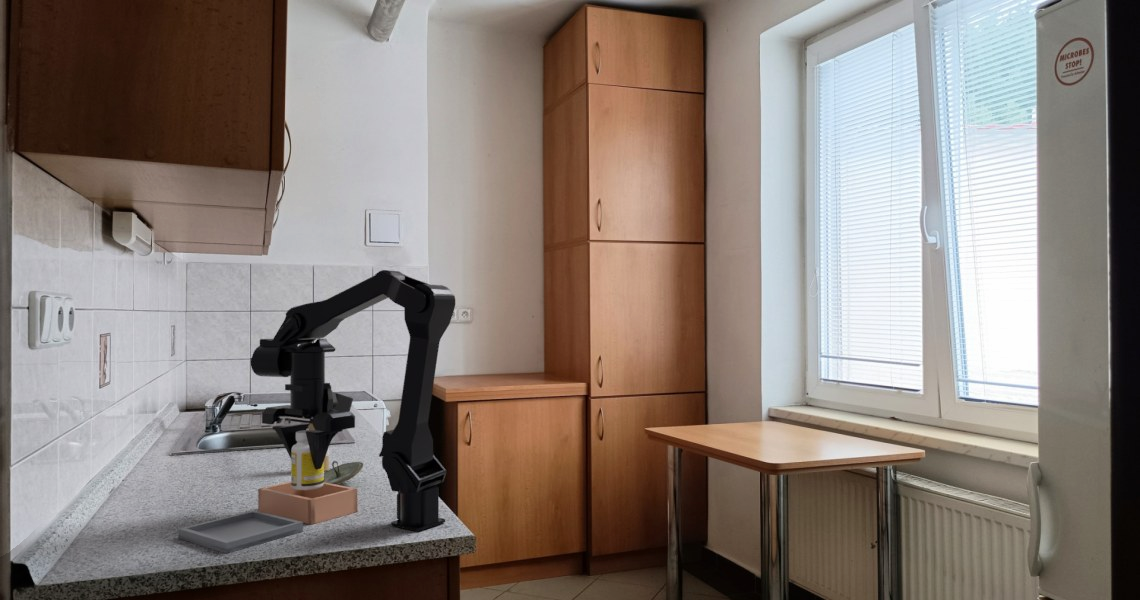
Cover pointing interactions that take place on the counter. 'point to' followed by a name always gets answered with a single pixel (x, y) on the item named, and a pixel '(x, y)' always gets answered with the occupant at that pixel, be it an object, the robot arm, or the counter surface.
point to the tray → (240, 531)
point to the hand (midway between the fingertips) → (307, 467)
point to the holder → (308, 502)
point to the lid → (342, 472)
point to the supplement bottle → (304, 466)
